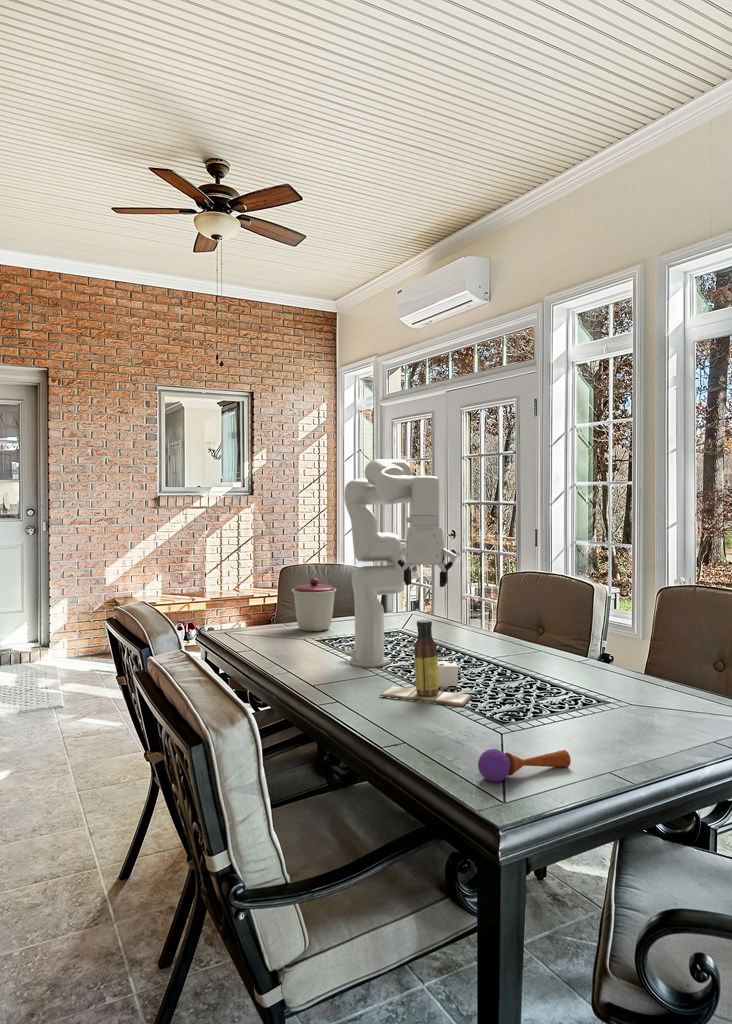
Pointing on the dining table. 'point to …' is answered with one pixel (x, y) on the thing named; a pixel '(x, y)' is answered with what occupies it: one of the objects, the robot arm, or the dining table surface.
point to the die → (448, 673)
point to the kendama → (516, 763)
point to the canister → (314, 605)
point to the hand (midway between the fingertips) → (425, 585)
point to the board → (440, 698)
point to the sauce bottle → (426, 661)
